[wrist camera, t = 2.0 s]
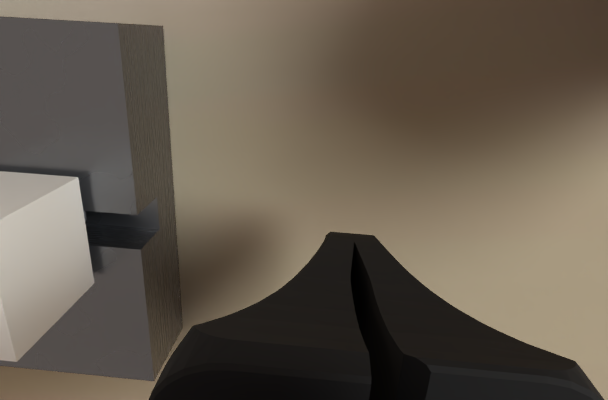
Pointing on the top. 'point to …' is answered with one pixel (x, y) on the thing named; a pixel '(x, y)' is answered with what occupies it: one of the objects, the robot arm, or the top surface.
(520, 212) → the top surface
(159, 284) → the fader console
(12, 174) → the fader tab
